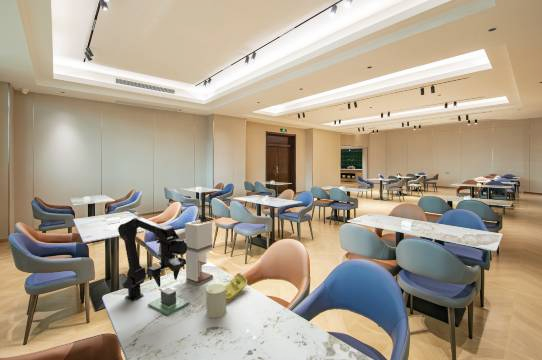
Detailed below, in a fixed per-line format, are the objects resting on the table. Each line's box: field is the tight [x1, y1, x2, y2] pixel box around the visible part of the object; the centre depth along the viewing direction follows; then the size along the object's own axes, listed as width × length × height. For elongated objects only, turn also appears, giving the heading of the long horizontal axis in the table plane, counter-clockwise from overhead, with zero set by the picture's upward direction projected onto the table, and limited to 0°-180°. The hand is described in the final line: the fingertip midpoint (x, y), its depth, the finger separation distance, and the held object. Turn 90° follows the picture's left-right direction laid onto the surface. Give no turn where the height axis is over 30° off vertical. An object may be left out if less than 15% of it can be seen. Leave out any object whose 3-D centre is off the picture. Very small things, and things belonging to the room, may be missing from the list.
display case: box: [184, 219, 214, 286], centre depth 158 cm, size 11×11×35 cm
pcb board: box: [147, 296, 190, 316], centre depth 131 cm, size 16×12×4 cm
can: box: [205, 283, 227, 319], centre depth 123 cm, size 9×9×12 cm
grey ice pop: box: [158, 287, 177, 306], centre depth 132 cm, size 10×4×6 cm, turn 57°
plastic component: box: [224, 272, 248, 303], centre depth 142 cm, size 20×7×10 cm
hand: (167, 283), depth 130 cm, fingers open, 9 cm apart
